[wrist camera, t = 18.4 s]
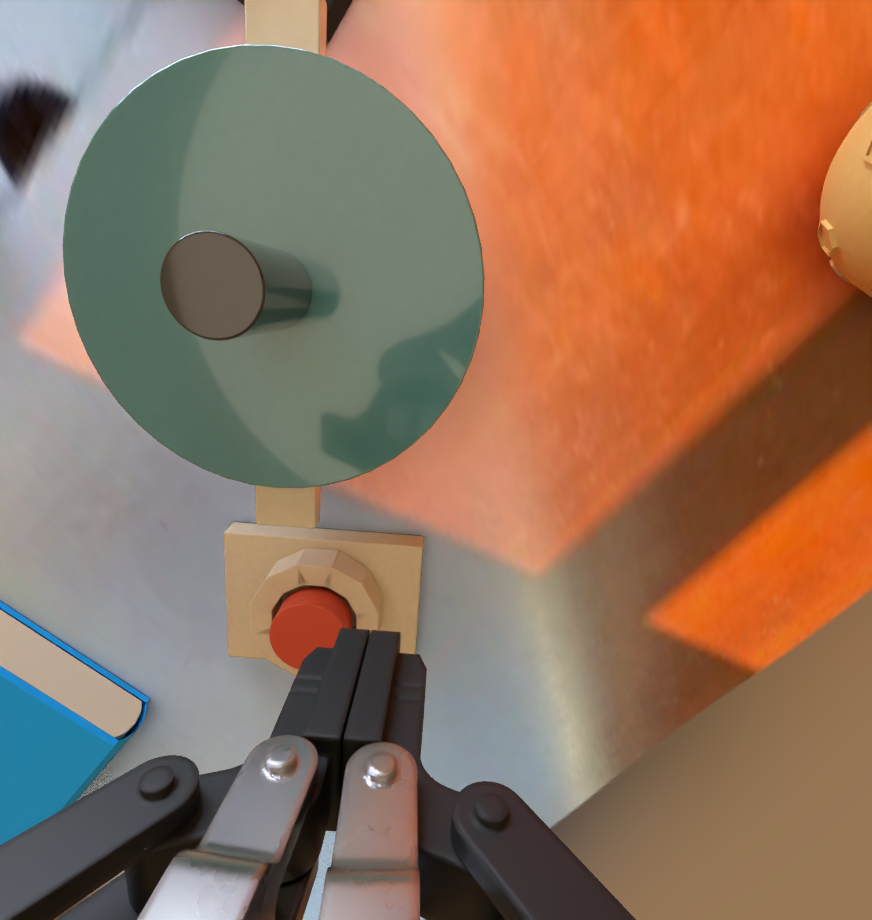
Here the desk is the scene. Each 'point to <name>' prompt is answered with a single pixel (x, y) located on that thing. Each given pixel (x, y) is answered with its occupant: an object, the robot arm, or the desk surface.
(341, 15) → the remote control
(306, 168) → the lid
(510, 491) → the desk surface
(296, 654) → the button
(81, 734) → the book
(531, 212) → the desk surface
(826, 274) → the desk surface
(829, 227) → the stress ball
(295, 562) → the button box
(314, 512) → the pot
